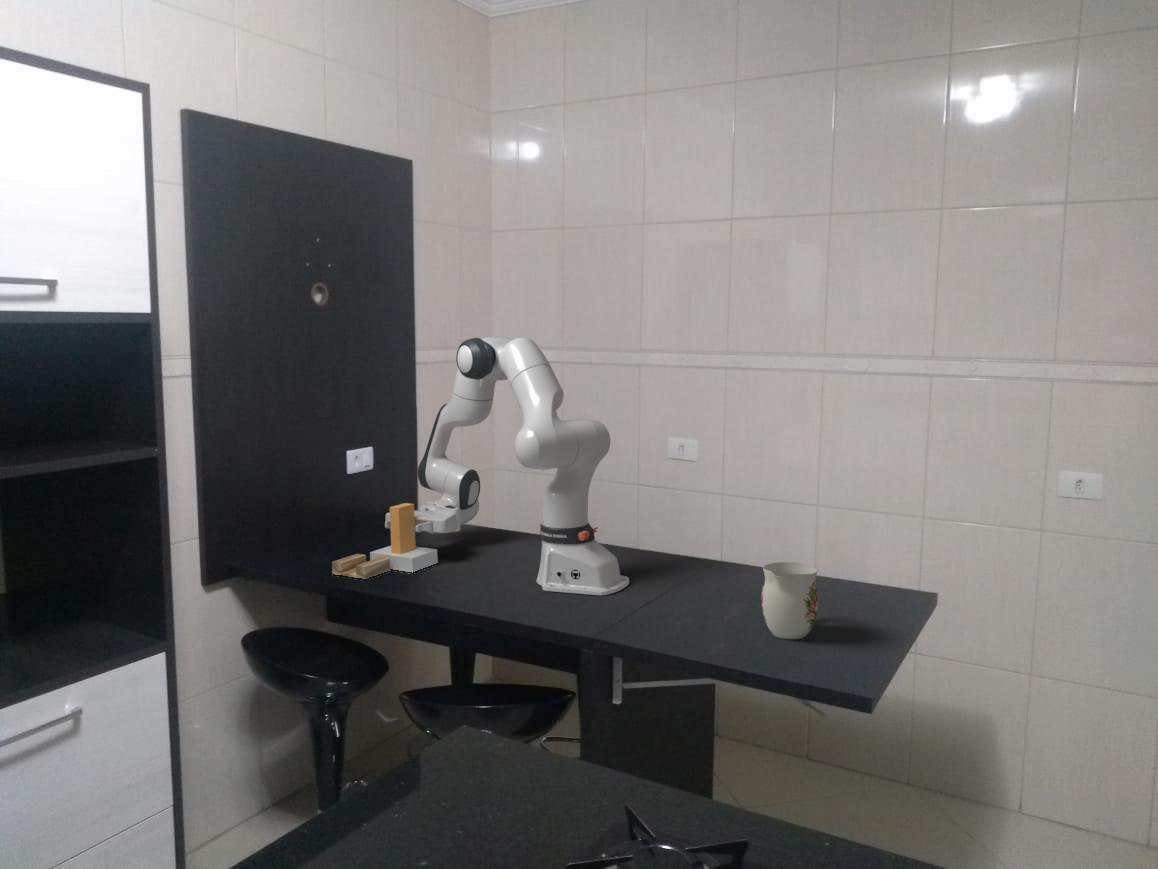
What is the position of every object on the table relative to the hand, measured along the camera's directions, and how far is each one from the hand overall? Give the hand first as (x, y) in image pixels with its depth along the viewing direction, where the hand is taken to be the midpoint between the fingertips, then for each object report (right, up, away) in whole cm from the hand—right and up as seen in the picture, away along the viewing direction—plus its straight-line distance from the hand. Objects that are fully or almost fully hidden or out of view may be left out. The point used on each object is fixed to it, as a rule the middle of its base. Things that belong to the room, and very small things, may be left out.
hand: (401, 527), depth 226 cm
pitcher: (+88, -16, -52) cm, 104 cm away
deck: (0, -10, +2) cm, 11 cm away
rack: (-9, -11, -5) cm, 15 cm away
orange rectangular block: (0, -6, +1) cm, 7 cm away
